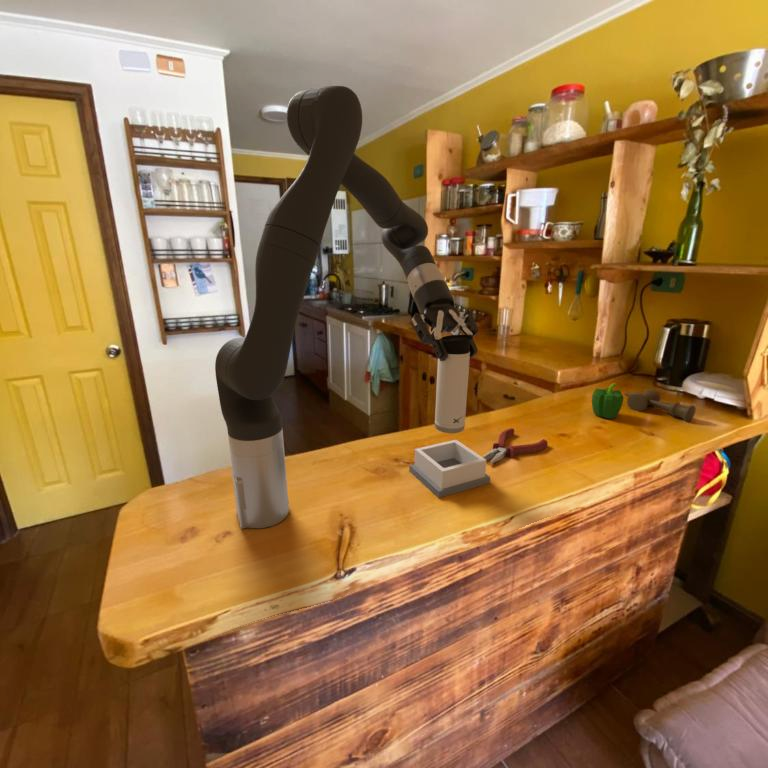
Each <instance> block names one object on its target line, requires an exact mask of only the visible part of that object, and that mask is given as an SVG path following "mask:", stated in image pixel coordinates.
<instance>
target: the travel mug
mask: <svg viewBox="0 0 768 768" xmlns="http://www.w3.org/2000/svg"><path fill="white" fill-rule="evenodd" d="M470 339H471V340H474V338H473V335H465V334H464V335H453V334H449V335H446V336H442V337H441V338H440V339H439V340H442V341H443V344H444V346H445V348H446V351H447V353H448V357H447V358H446V360H445V361H440V359H438V358H437V373H436V389H435V391H436V394H435V413H434V427H435V429H436V430H437V431H439V432H441V433H445V434H459V433H461V432H463V431H464V430H465V426H466V424H465V423H466V412H467V399H468V398H467V397H468V387H469V383H468V382H469V375H470V374H469V372H470V370H469V369H470Z"/></svg>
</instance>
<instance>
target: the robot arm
mask: <svg viewBox="0 0 768 768" xmlns="http://www.w3.org/2000/svg"><path fill="white" fill-rule="evenodd" d="M286 123H287V127H288V128H287V129H288V130H289V134H290V136H291V137H292V139H293V140H294V142H295V144H296V145H297V146H298V147H299V148H300V149H301V150H302V151H303V152H304V153H305V154H307V155H308V157H307V160H306V163H305V165H304V167H303V168H302V170H301V172H300V173H299V175H298V176H297V177H296V179H295V180H294V181H293V183H292V184H291V185H290V186H289V187H288V189H287V190H286V191H285V192H284V193H283V195H282V196H281V197H280V199H278V201H277V202H276V204H275V205H274V207H273V208H272V210H271V211H270V213H269V215H268V216H267V219H266V222H265V224H264V227H263V231H262V234H261V237H260V240H259V244H258V247H257V251H256V257H255V267H254V269H255V303H254V311H253V314H252V318H251V321H250V323H249V327H248V329H247V332H246V335H245V337H236V338H232V339H230V340H227V341H226V342H225V343H224V344H223V345H222V346H221V347H220V349H219V350H218V352H217V355H216V358H215V363H214V365H215V366H214V370H215V371H214V372H215V381H216V385H217V386H216V387H217V393H218V399H219V405H220V410H221V414H222V416H223V420H224V422H225V425H226V431H227V437H228V444H229V445H228V446H229V451H230V452H229V453H230V460H231V477H232V484H233V493H234V500H235V502H234V503H235V509H236V515H237V518H238V522H239V528H240V529H247V528H250V529H265V528H269V527H272V526H275V525H277V524H279V523H281V522H282V521H284V519H286V518H287V516H288V515H289V513H290V505H289V504H290V503H289V493H288V480H287V468H286V467H287V465H286V455H285V443H284V431H283V418H282V417H283V416H282V414H281V413H282V412H280V410H279V408H278V406H277V404H276V402H275V400H274V398H273V395H274V394H275V393H276V391H278V390H279V388H281V387H280V386H281V385H282V384H283V381H284V380H285V377H286V376H285V375H286V372H287V369H288V365H289V358H290V353H291V349H292V343H293V338H294V334H295V330H296V329H295V328H296V324H297V321H298V318H299V314H300V311H301V308H302V305H303V301H304V298H305V295H306V291H307V290H308V289H307V288H308V285H309V281H310V278H311V275H312V273H313V271H314V267H315V266H316V261H317V257H318V255H319V251H320V248H321V244H322V241H323V237H324V233H325V230H326V227H327V224H328V221H329V219H330V215H331V212H332V209H333V207H334V203H335V200H336V198H337V195H338V192H339V190H340V187H341V185H342V186H343V187H344V188H345V189H346V191H348V193H350V194H351V195H352V196H353V197H354V199H355V200H356V201H357V202H358V203H359V204H360V205H361V207H362V208H363V209H364V211H366V213H367V214H368V215H369V216H370V218H371V219H372V220H373V222H374V223H375V224H376V225H377V226H378V227H379V228H381V229H383V230H382V232H381V242H382V245H383V246H384V248H385V249H386V250H387V251H388V252H389V253H390V255H392V256H393V257H394V259H395V260H396V261H397V262H398V264H399V265H400V267H401V269H402V271H403V273H404V276H405V278H406V281H407V284H408V287H409V289H410V290H409V291H410V293H411V296H412V298H413V301H414V302H415V305H416V307H417V309H418V312H419V313H418V312H415V313H414V315H413V317H412V318H411V319H410V324H411V326H412V328H413V330H414V332H415V334H416V336H417V338H418V339H419V341H420V343H421V344H422V345H426V344H428V345H430V346H431V347H432V349H433V351H434V354H435V356H436V358H437V360H438V359H440V361H445V360H446V358H447V357H448V353H447V351H446V348H445V346H444V344H443V341H442V340H439V339H441V333H442V334H443V333H451V335H473V340H471V339H470V358H474V357H475V356H476V355H478V354H477V353H478V347H477V345H476V342H475V340H474V338H475V337H476V335H477V334H478V333H479V329H478V325H477V323H476V321H475V317H474V315H473V312H472V311H471V309H466V311H459V309H458V308H457V307H456V306H455V298H454V297H453V294H452V292H451V289H450V287H449V285H448V283H447V281H446V279H445V277H444V275H443V274H442V272H441V270H440V269H439V267H438V266H437V263H436V261H435V259H434V256H433V254H432V252H431V251H430V249H429V248H428V247H426V246H425V245H420V244H421V243H422V242H424V241H425V240H426V239H427V237H428V234H429V227H428V224H427V222H426V220H425V218H424V217H423V216H422V215H421V214H420V213H419V212H417V211H416V210H414V209H413V208H411V207H410V206H408V205H407V204H406V203H405V202H404V201H403V200H402V199H401V198H400V196H399V194H398V193H397V192H396V190H395V189H394V187H393V185H392V184H391V183H390V181H389V180H388V179H387V178H386V177H385V176H384V175H383V174H381V172H380V171H378V170H377V169H375V168H374V167H373V166H371V164H369V163H367V162H366V161H365V160H363V159H361V158H360V157H359V156H358V155H357V154H355V152H356V150H357V147H358V145H359V141H360V138H361V133H362V129H363V128H362V127H363V110H362V105H361V102H360V99H359V97H358V95H357V94H356V93H355V92H354V91H353V90H352V89H351V88H349V87H347V86H345V85H328V86H321V87H319V86H318V87H314V88H309V89H304V90H301V91H299V92H297V93H295V94H294V95H293V96H292V97H291V98H290V100H289V102H288V104H287V110H286ZM457 326H458V327H457ZM428 327H430V329H429V328H428ZM456 328H457V329H456Z"/></svg>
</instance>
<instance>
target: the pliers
mask: <svg viewBox="0 0 768 768" xmlns="http://www.w3.org/2000/svg"><path fill="white" fill-rule="evenodd" d="M514 433H515V429H514V428H511V427H510V428H507V429H506V430H503V431H502V432H501V433H500V434H499V436H498V442H494V443H493V444H492V445H493V446H492V449H490V450H489V451H487V453H485V454H484V455H483V456H482V457H483V458H484V459H486V460H490V459H491V460H490V461H489V463H488V464H489V465H490V464H491V465H492V464H494V463H496V462H498V461H499V462H500V461H501V460H503V459H504V457H509V458H510V457H511V458H510V459H514V458H515V456H518V455H519V456H520V455H528V454H536V453H540V452H542V451H543V450H545V449H546V448H547V447H548V441H547V440H546V439H544V438H543V439H541V440H540V441H538V442H535V443H529V444H520V445H519V444H518V445H517V444H516V445H507V446H505V447H504V445H505V440H506V439H508V438H509V436H510V437H512V436H513V434H514ZM511 435H512V436H511ZM507 437H508V438H507ZM505 438H506V439H505Z"/></svg>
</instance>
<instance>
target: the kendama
mask: <svg viewBox="0 0 768 768" xmlns="http://www.w3.org/2000/svg"><path fill="white" fill-rule="evenodd" d="M623 395H625V396H626V397H627V399H626V404H627V406H628V408H629V409H631V410H633V411H636V412H643V411H644V410H645V409H647V406H649V407H657V408H660V409H661V410H664V411H665V412H667V413H669V415H670V416H671V417H675V416H676V417H678V418H681V419H683V420H684V421H685V422H687V423H688V422H690V421H692V419H693V418H694V417H695V414H696V408H697V407H696V406H695V405H683V404H682V403H680V402H679V401H677V402H666V401H661V395H660V393H659V392H658V391H656V390H655V389H651V388H649V389H645V390H644V391H642V392H639V391H638V392H636V391H635V392H631V393H627V392H625V393H623Z"/></svg>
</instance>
